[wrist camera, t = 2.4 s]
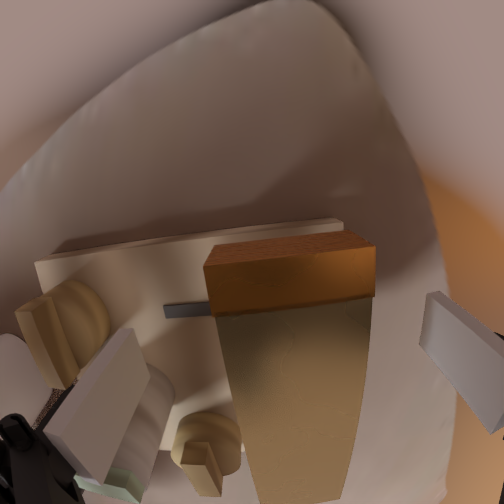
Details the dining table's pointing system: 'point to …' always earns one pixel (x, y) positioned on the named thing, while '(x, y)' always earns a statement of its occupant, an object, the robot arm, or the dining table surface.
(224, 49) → the dining table surface
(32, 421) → the candle holder
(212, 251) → the wing knob
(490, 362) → the robot arm
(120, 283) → the beige square board
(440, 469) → the dining table surface
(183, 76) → the dining table surface
